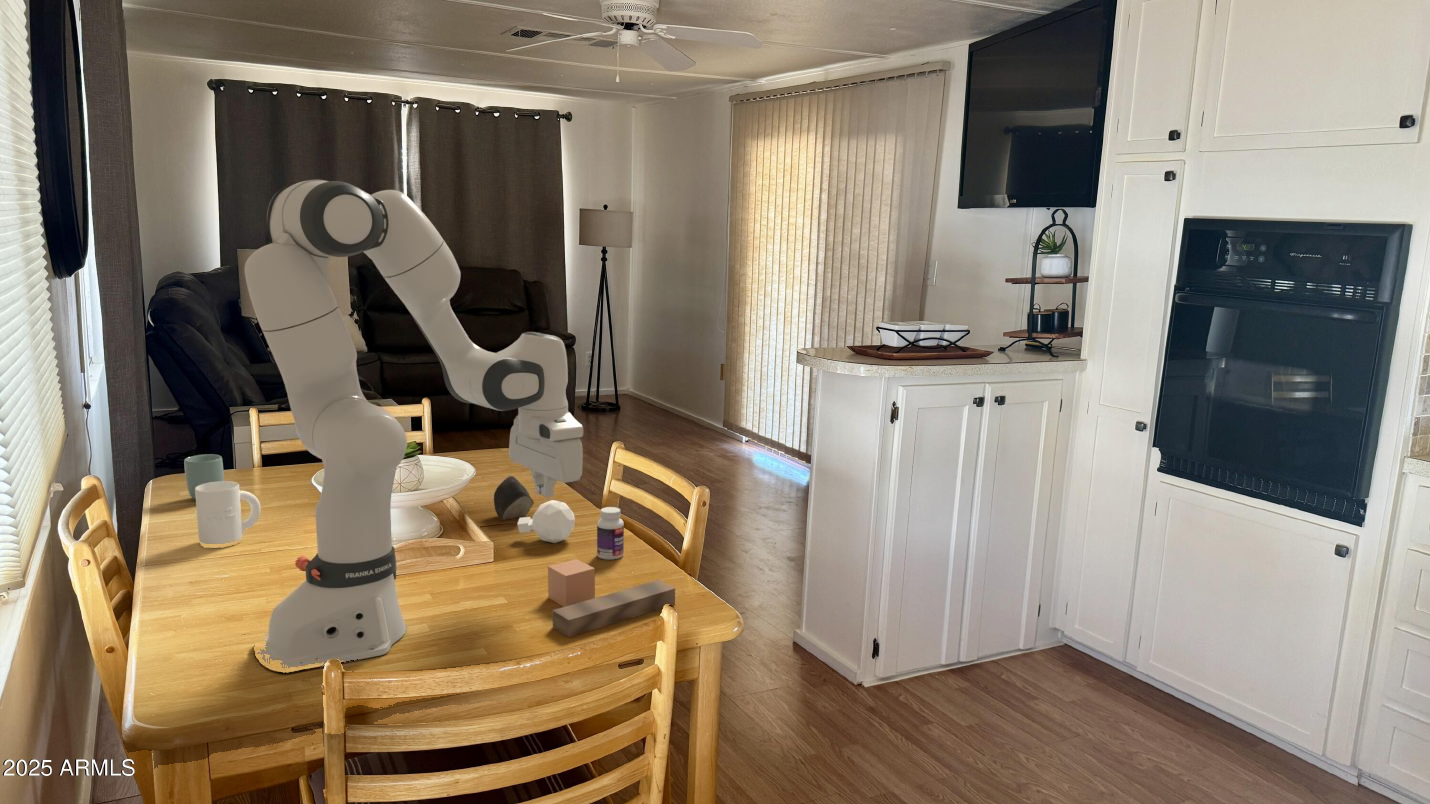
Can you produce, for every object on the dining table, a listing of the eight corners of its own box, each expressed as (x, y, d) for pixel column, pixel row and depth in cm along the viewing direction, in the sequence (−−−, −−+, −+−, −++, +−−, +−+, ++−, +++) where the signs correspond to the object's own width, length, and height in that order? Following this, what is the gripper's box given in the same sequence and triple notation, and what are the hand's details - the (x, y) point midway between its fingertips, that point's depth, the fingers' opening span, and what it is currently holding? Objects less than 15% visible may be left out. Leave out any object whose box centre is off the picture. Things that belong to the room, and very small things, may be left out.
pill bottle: (619, 561, 186) (619, 514, 185) (593, 558, 187) (593, 512, 186) (627, 552, 192) (627, 506, 190) (602, 550, 193) (601, 504, 191)
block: (566, 608, 163) (565, 575, 162) (548, 597, 168) (547, 566, 167) (594, 600, 167) (594, 568, 166) (576, 589, 172) (576, 558, 171)
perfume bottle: (582, 525, 202) (528, 529, 203) (574, 490, 198) (519, 494, 199) (575, 549, 195) (519, 554, 196) (567, 514, 190) (510, 518, 191)
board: (568, 637, 152) (568, 620, 151) (552, 627, 155) (552, 610, 155) (675, 604, 166) (675, 588, 165) (657, 595, 170) (658, 579, 169)
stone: (500, 527, 212) (503, 501, 205) (486, 502, 216) (489, 476, 208) (533, 515, 216) (537, 490, 209) (518, 491, 220) (522, 465, 213)
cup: (231, 497, 223) (228, 457, 221) (199, 505, 216) (195, 463, 214) (213, 492, 227) (210, 452, 225) (181, 500, 220) (177, 459, 218)
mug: (269, 539, 195) (265, 484, 192) (206, 552, 187) (201, 494, 184) (256, 529, 201) (252, 475, 198) (194, 541, 193) (190, 485, 190)
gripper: (499, 414, 174) (501, 485, 177) (557, 433, 159) (558, 511, 161) (529, 410, 178) (530, 480, 181) (589, 429, 163) (589, 505, 166)
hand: (544, 495), depth 171 cm, fingers closed
